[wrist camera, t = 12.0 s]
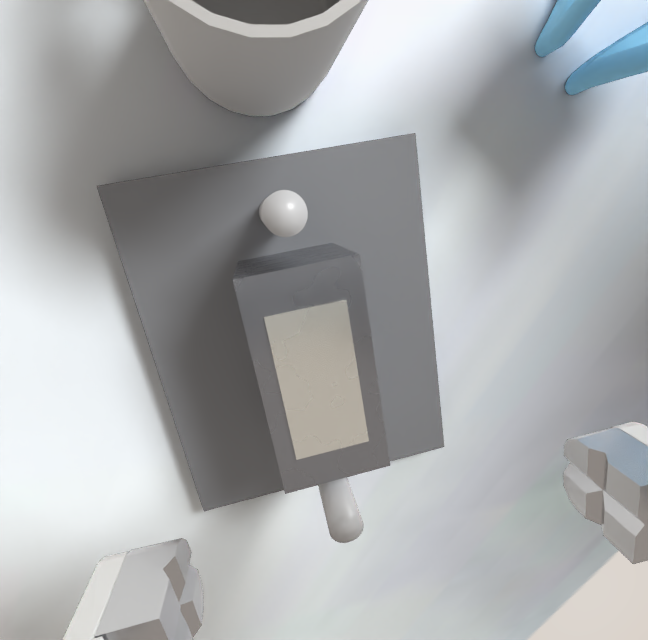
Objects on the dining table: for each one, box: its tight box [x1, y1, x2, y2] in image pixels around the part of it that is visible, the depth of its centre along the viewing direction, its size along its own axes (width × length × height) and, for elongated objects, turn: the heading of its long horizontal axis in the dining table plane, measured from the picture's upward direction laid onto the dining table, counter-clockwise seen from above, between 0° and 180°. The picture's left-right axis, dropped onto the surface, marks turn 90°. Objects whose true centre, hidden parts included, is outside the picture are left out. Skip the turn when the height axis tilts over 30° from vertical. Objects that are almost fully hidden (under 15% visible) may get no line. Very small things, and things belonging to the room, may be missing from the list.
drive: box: [233, 243, 390, 494], centre depth 17 cm, size 4×9×5 cm, turn 10°
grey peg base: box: [97, 133, 444, 543], centre depth 17 cm, size 14×17×7 cm
